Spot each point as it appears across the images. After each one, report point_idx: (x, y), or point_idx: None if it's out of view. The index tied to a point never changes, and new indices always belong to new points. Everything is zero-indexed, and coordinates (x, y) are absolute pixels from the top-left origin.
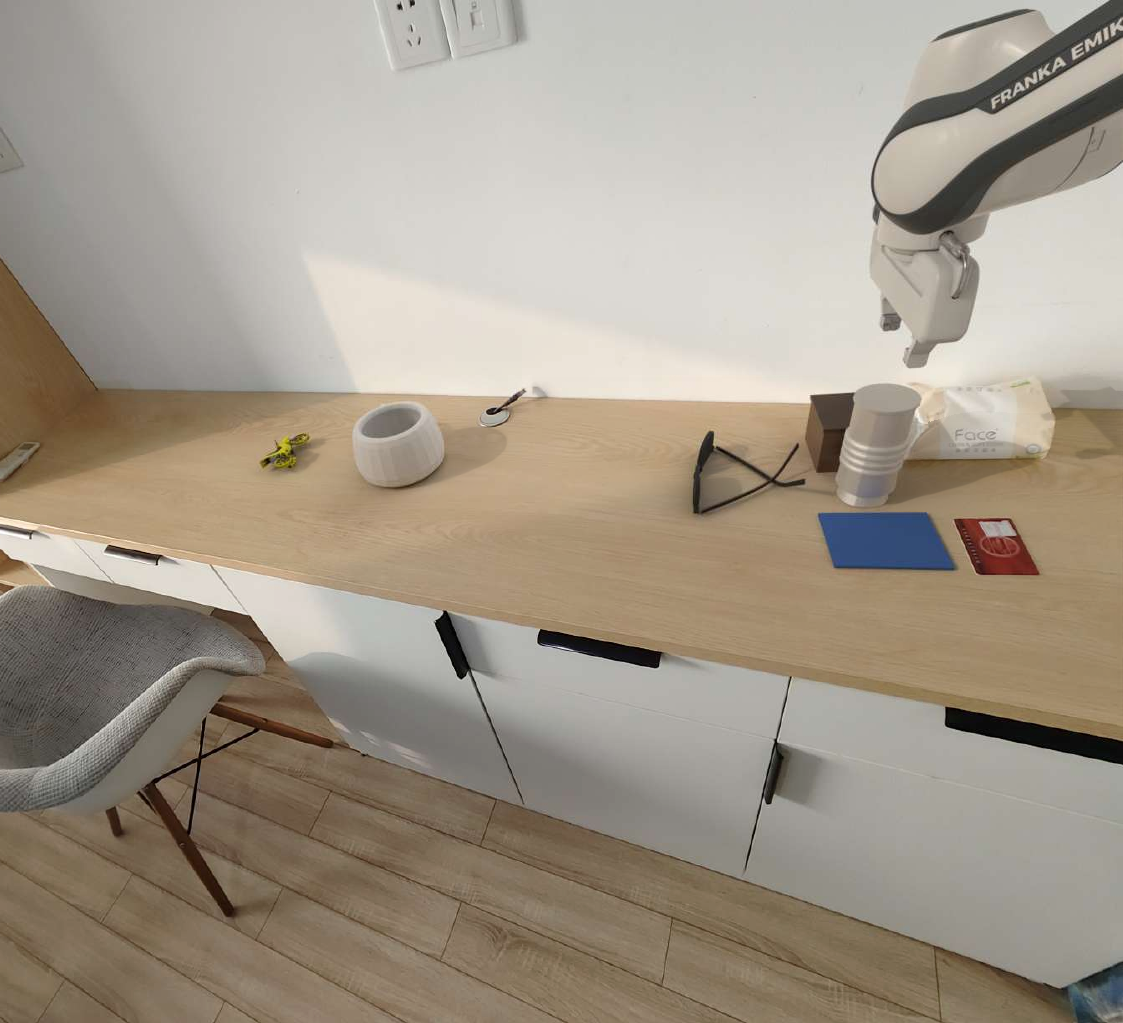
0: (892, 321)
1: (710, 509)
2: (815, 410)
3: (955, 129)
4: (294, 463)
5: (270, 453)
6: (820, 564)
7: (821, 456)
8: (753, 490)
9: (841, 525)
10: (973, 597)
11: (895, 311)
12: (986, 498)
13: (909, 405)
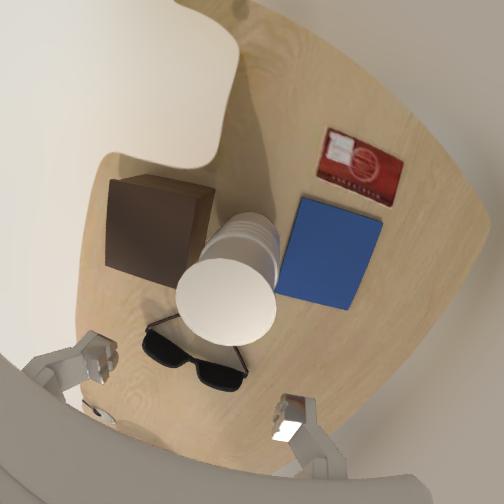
0: (105, 364)
1: (245, 366)
2: (136, 275)
3: None
4: None
5: None
6: (339, 316)
7: None
8: None
9: (299, 282)
10: (411, 228)
11: (80, 363)
12: (290, 126)
13: (262, 292)
